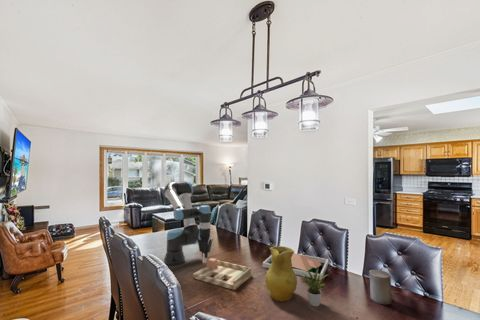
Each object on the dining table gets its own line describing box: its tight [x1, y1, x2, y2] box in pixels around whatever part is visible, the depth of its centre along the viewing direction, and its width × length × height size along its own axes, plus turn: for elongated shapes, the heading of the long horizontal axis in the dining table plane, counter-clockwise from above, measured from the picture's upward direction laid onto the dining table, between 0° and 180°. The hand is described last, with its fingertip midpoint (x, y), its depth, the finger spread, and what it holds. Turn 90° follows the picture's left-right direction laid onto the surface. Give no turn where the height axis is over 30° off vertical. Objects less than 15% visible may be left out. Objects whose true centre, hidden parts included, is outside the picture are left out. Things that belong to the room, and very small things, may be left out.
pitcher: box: [265, 245, 298, 302], centre depth 128 cm, size 17×19×25 cm
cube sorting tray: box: [192, 259, 252, 291], centre depth 148 cm, size 31×21×5 cm
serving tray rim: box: [262, 252, 329, 281], centre depth 167 cm, size 40×30×3 cm
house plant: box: [301, 268, 328, 307], centre depth 120 cm, size 14×14×16 cm
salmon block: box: [206, 257, 218, 269], centre depth 157 cm, size 5×5×5 cm
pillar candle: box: [369, 269, 393, 305], centre depth 123 cm, size 10×10×15 cm
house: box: [291, 252, 323, 273], centre depth 167 cm, size 23×33×8 cm
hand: (204, 262), depth 160 cm, fingers closed
